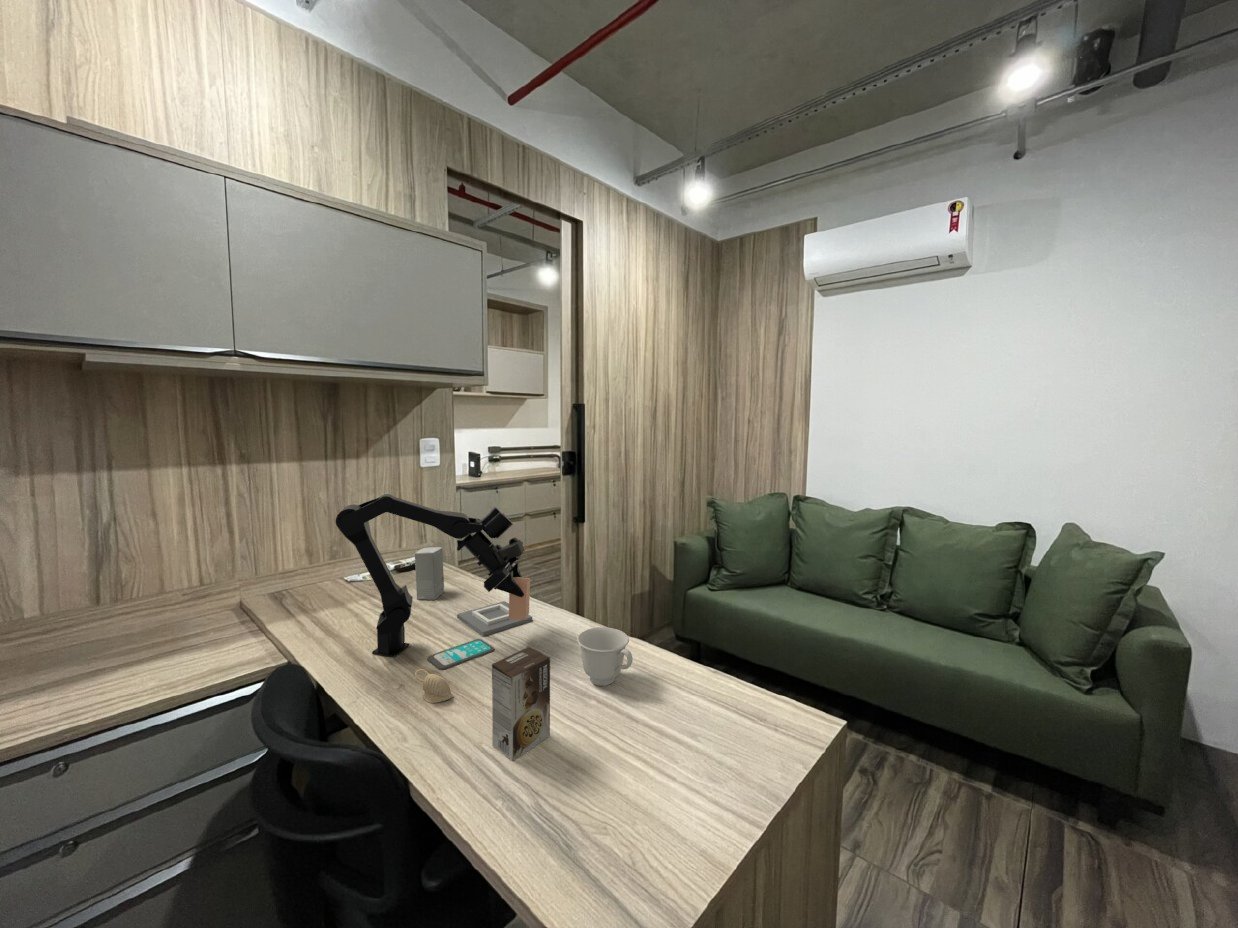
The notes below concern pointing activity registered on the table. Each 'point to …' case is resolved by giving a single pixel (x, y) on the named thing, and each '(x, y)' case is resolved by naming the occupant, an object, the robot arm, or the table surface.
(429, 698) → the beige creamer pitcher
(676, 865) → the table surface
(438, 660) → the smartphone
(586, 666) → the teacup
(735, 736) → the table surface
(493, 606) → the dock board
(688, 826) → the table surface
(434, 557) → the skincare box
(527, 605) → the terracotta block
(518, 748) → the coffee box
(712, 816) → the table surface
